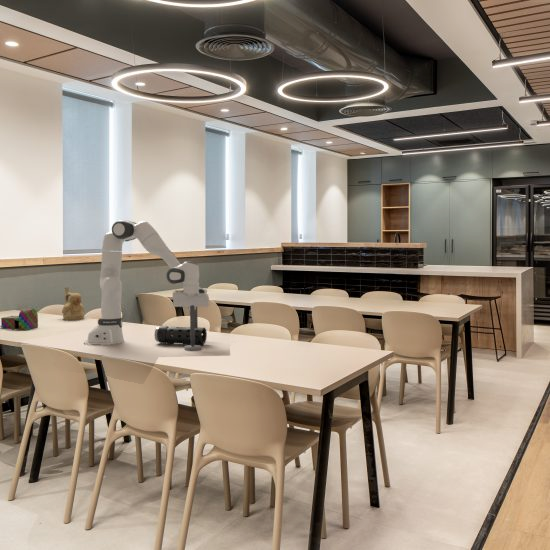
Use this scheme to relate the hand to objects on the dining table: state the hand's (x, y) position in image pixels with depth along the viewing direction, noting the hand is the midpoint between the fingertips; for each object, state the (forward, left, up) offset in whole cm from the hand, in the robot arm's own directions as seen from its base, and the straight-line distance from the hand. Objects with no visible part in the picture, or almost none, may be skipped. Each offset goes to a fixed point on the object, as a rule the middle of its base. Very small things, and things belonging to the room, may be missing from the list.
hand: (191, 314), depth 319 cm
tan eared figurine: (-95, +113, -17) cm, 148 cm away
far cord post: (+1, +15, -17) cm, 23 cm away
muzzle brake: (-6, +1, -17) cm, 18 cm away
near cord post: (+1, -15, -17) cm, 23 cm away
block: (-122, +78, -17) cm, 145 cm away
